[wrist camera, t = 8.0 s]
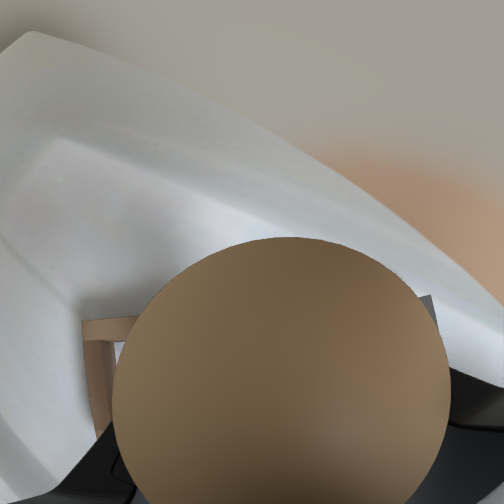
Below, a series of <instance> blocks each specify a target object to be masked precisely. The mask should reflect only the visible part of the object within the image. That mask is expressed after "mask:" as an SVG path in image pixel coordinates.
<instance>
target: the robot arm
mask: <svg viewBox="0 0 504 504" xmlns="http://www.w3.org/2000/svg"><path fill="white" fill-rule="evenodd" d="M449 371H450V379H451V401H450V411H449V418H448V423H447V427H446V431H445V435H444V438H443V441H442V444H441V447H440V449H439V452H438V454H437V457H436V459H435V461H434V462H433V464H432V466H431V468H430V470H429V472H428V474H427V475H426V477H425V478H424V480H423V481H422V483H421V484H420V485H419V487H418V488H417V490H416V491H415V492H414V493H413V494H412V496H411V497H410V498H409V499H408V500H407V501H406V502H405V503H404V504H504V388H502V387H498V386H495V385H492V384H490V383H487V382H485V381H482V380H480V379H477V378H475V377H472V376H469V375H467V374H464V373H462V372H460V371H457V370H455V369H453V368H451V367H449ZM112 420H113V418H112ZM9 504H150V503H149V502H148V501H147V499H146V498H145V497H144V495H143V494H142V492H141V491H140V490H139V488H138V487H137V486H136V484H135V483H134V481H133V479H132V477H131V475H130V473H129V472H128V470H127V468H126V466H125V464H124V461H123V458H122V456H121V453H120V450H119V447H118V444H117V440H116V435H115V430H114V425H113V421H110V423H109V424H108V426H107V427H106V429H105V430H104V431H103V433H102V434H101V435H100V437H99V438H98V440H97V441H96V442H95V443H94V445H93V446H92V447H91V448H90V450H89V451H88V452H87V453H86V454H85V456H84V457H83V458H82V459H81V460H80V461H79V463H78V464H77V465H76V466H75V467H74V468H73V469H72V471H71V472H70V473H69V474H68V475H67V476H66V477H65V479H64V480H63V481H62V482H61V483H60V484H59V485H58V486H57V487H55V488H54V489H53V490H51V491H49V492H47V493H45V494H42V495H39V496H35V497H32V498H28V499H24V500H21V501H17V502H13V503H9Z"/></svg>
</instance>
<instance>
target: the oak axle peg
mask: <svg viewBox="0 0 504 504" xmlns="http://www.w3.org/2000/svg"><path fill="white" fill-rule="evenodd" d="M450 401H451V379H450V371H449V365H448V359H447V355H446V351H445V348H444V345H443V341H442V338H441V336H440V334H439V331H438V329H437V327H436V325H435V322H434V320H433V319H432V317H431V316H430V314H429V312H428V311H427V309H426V307H425V306H424V304H423V303H422V302H421V300H420V299H419V298H418V297H417V295H416V294H415V293H414V292H413V291H412V289H411V288H410V287H409V286H408V285H407V284H406V283H404V282H403V281H402V280H401V279H400V278H399V277H398V276H397V275H396V274H395V273H393V272H392V271H390V270H389V269H388V268H386V267H385V266H384V265H382V264H381V263H379V262H378V261H376V260H374V259H372V258H370V257H368V256H366V255H365V254H363V253H361V252H358V251H356V250H353V249H350V248H348V247H345V246H343V245H340V244H335V243H331V242H327V241H323V240H318V239H309V238H300V237H278V238H268V239H261V240H254V241H250V242H246V243H242V244H239V245H235V246H231V247H229V248H226V249H224V250H221V251H219V252H216V253H214V254H212V255H209V256H207V257H206V258H204V259H202V260H200V261H198V262H197V263H195V264H193V265H191V266H190V267H188V268H187V269H185V270H184V271H183V272H181V273H180V274H179V275H177V276H176V277H175V278H174V279H172V280H171V281H170V282H169V283H168V284H167V285H166V286H165V287H164V288H163V289H162V290H160V291H159V292H158V293H157V294H156V295H155V296H154V297H153V299H152V300H151V301H150V303H149V304H148V305H147V306H146V308H145V309H144V310H143V312H142V313H141V314H140V315H139V317H138V319H137V321H136V322H135V324H134V326H133V327H132V329H131V331H130V333H129V334H128V336H127V339H126V341H125V344H124V346H123V349H122V351H121V354H120V356H119V360H118V364H117V368H116V372H115V376H114V384H113V394H112V413H113V425H114V430H115V435H116V440H117V444H118V447H119V450H120V453H121V456H122V458H123V461H124V464H125V466H126V468H127V470H128V472H129V473H130V475H131V477H132V479H133V481H134V483H135V484H136V486H137V487H138V488H139V490H140V491H141V492H142V494H143V495H144V497H145V498H146V499H147V501H148V502H149V503H150V504H404V503H405V502H406V501H407V500H408V499H409V498H410V497H411V496H412V494H413V493H414V492H415V491H416V490H417V488H418V487H419V485H420V484H421V483H422V481H423V480H424V478H425V477H426V475H427V474H428V472H429V470H430V468H431V466H432V464H433V462H434V461H435V459H436V457H437V454H438V452H439V449H440V447H441V444H442V441H443V438H444V435H445V431H446V427H447V423H448V418H449V411H450Z"/></svg>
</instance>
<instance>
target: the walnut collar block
mask: <svg viewBox="0 0 504 504" xmlns="http://www.w3.org/2000/svg"><path fill="white" fill-rule="evenodd" d="M138 317H139V315H138V316H129V317H119V318H109V319H99V320H88V321H82V332H83V345H84V357H85V366H86V375H87V383H88V390H89V397H90V404H91V410H92V416H93V421H94V427H95V432H96V437H97V440H98V438H99V437H100V435H101V434H102V433H103V431H104V430H105V429H106V427H107V426H108V424H109V423H110V421H113V420H112V418H113V413H112V394H113V384H114V376H115V372H116V359H115V350H114V342H124V341H126V339H127V336H128V334H129V333H130V331H131V329H132V327H133V326H134V324H135V322H136V321H137V319H138Z"/></svg>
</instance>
